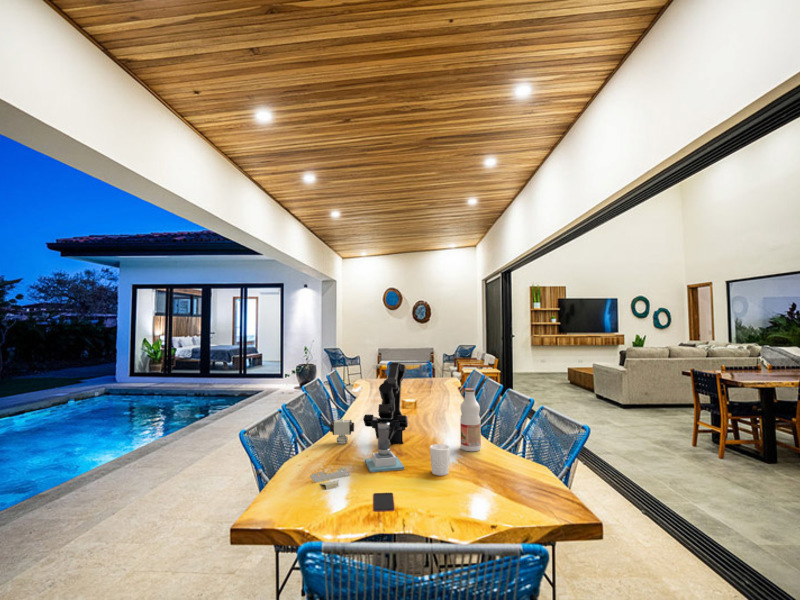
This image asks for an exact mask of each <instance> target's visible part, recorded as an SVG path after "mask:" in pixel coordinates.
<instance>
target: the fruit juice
mask: <svg viewBox="0 0 800 600" xmlns="http://www.w3.org/2000/svg"><path fill="white" fill-rule="evenodd" d="M464 393H465V395H464V399H463V401H462V402H461V404H460V412H461V415H460V419H459V420H460V421H459V422H460V425H459V427H460V428H459V429H460V449H461V450H462V451H464V452H465V451H466V452H478V451H481V449H482V441H481V440H482V437H481V436H482V431H481V417H480V411H481V406H480V404H479V402H478V401H477V399H476V396H475V393H476V389H475V388H471V387H466V388H464Z"/></svg>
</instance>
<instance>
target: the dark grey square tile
mask: <svg viewBox="0 0 800 600" xmlns="http://www.w3.org/2000/svg"><path fill="white" fill-rule="evenodd" d="M372 495H373V496H372V512H375V513H377V512H379V513H381V512H384V513H385V512H394V511H396V508H395V500H394V493H393V492H374V493H373V494H372Z"/></svg>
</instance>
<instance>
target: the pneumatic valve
mask: <svg viewBox="0 0 800 600" xmlns="http://www.w3.org/2000/svg"><path fill="white" fill-rule="evenodd" d="M329 432H330V433H332V435H333V436H337V437H336V443H337V444H338V445H346V443H348V438H349V437H347V436H350V435H352V433H354V432H355V422H353V421H352V419H344V418H341V419H333V421H332V422H330V423H329Z"/></svg>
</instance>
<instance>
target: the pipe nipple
mask: <svg viewBox="0 0 800 600" xmlns="http://www.w3.org/2000/svg"><path fill="white" fill-rule="evenodd" d="M389 435H390V422H388V421H380V422H378V439H377V453H378V455H380V456H388V455H390V452H391V444H390V440H389Z"/></svg>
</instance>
